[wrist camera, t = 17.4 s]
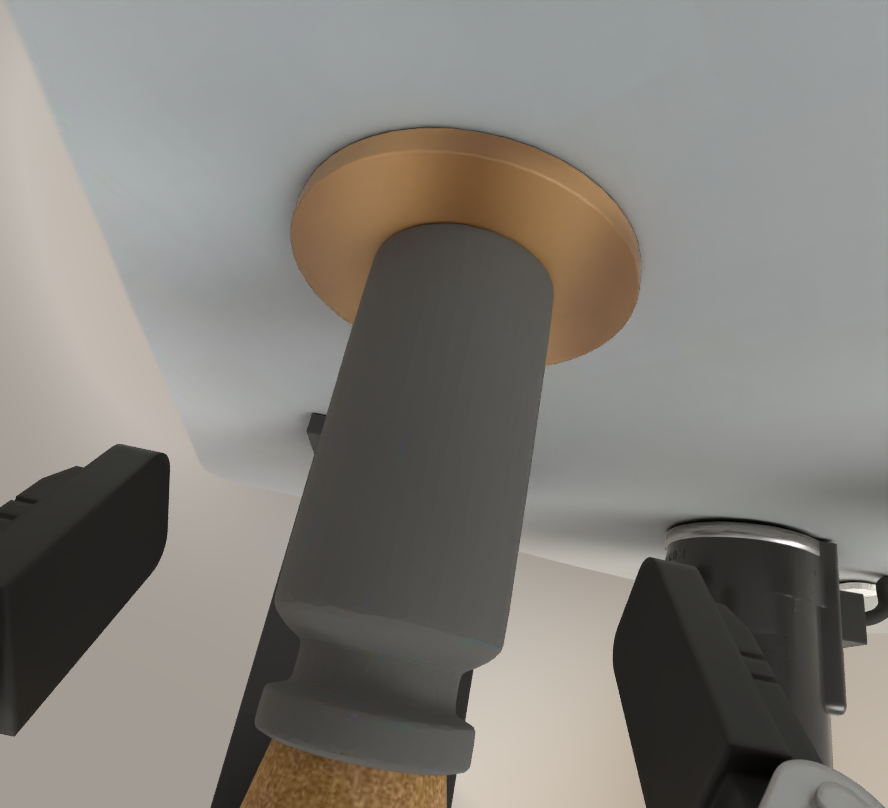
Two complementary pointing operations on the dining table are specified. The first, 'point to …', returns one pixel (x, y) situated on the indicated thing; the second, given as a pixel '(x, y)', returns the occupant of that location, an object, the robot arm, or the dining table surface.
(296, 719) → the bottle
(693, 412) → the dining table surface
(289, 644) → the coffee maker
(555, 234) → the disc
